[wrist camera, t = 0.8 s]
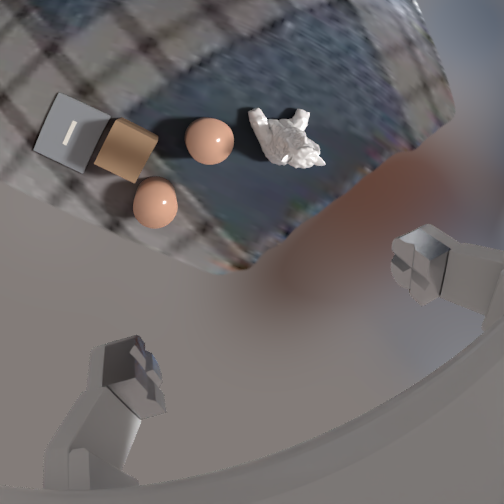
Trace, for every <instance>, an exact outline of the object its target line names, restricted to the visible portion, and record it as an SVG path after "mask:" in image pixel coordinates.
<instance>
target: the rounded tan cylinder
mask: <svg viewBox="0 0 504 504" xmlns="http://www.w3.org/2000/svg"><path fill="white" fill-rule="evenodd" d="M184 140H185V145H186V147H187V149H188V151H189V153H190V154H191V156H192V157H193V158H194V159H195V160H196V161H198V162H200V163H202V164H207V165H212V164H217V163H220V162H222V161H223V160H225V159H226V158H227V157H228V156H229V154H230V153H231V151H232V149H233V146H234V136H233V133H232V131H231V129H230V128H229V126H228V125H227V124H225V123H224V122H222V121H219V120H217V119H214V118H210V117H202V118H198V119H196V120H195V121H193V122H192V123H191V124H190V125H189V126H188V128H187V129H186V132H185V137H184Z"/></svg>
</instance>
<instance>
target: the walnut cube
mask: <svg viewBox="0 0 504 504" xmlns="http://www.w3.org/2000/svg"><path fill="white" fill-rule="evenodd" d="M157 142H158V135H156V134H154V133H152V132H150V131H148V130H146V129H144V128H142V127H140V126H138V125H136V124H134V123H132V122H130V121H128V120H126V119H124V118H119V119H117V120H116V121H115V123H114V124H113V126H112V128H111V130H110V132H109V134H108V136H107V138H106V140H105V142H104V144H103V146H102V148H101V150H100V152H99V154H98V156H97V158H96V160H95V162H94V164H95V165H97V166H99V167H101V168H104V169H106V170H108V171H110V172H112V173H114V174H116V175H118V176H120V177H122V178H124V179H126V180H128V181H130V182H133V183H135V182H136V180H137V178H138V176H139V175H140V173H141V171H142V169H143V167H144V165H145V163H146V162H147V160H148V158H149V156H150V154H151V152H152V151H153V149H154V147H155V145H156V144H157Z"/></svg>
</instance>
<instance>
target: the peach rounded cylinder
mask: <svg viewBox="0 0 504 504" xmlns="http://www.w3.org/2000/svg"><path fill="white" fill-rule="evenodd" d="M133 212H134V215H135V217H136V219H137V220H138V221H139V222H140V223H141V224H142V225H144V226H146V227H148V228H161V227H164V226H166V225H168V224H169V223H170V222H171V221H172V220H173V219H174V217H175V215H176V213H177V199H176V194H175V189H174V187H173V185H172V184H171V183H170V182H169V181H168V180H167V179H165V178H163V177H158V176H155V177H150V178H147V179H145V180H144V181H143V182H141V184H140V185H139V186H138V188H137V191H136V194H135V199H134V203H133Z"/></svg>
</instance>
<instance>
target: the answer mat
mask: <svg viewBox="0 0 504 504" xmlns="http://www.w3.org/2000/svg"><path fill="white" fill-rule="evenodd" d="M110 118H111V116H110V115H108V114H106V113H104V112H102V111H99V110H97V109H95V108H93V107H91V106H89V105H87V104H85V103H83V102H80V101H78V100H76V99H74V98H72V97H70V96H67V95H65V94H63V93H61V92H59V93H58V95H57V97H56V99H55V101H54V103H53V105H52V107H51V110H50V112H49V114H48V116H47V118H46V121H45V123H44V125H43V127H42V130H41V132H40V135H39V137H38V140H37V142H36V145H35V147H34V151H36V152H38V153H40V154H42V155H44V156H46V157H49V158H51V159H53V160H55V161H57V162H59V163H61V164H63V165H65V166H67V167H69V168H72V169H74V170H76V171H78V172H80V173H82V174H83V173H84V171H85V168H86V166H87V164H88V162H89V160H90V157H91V155H92V153H93V151H94V149H95V147H96V145H97V143H98V141H99V139H100V137H101V135H102V133H103V131H104V129H105V127H106V125H107V123H108V121H109V119H110Z"/></svg>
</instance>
